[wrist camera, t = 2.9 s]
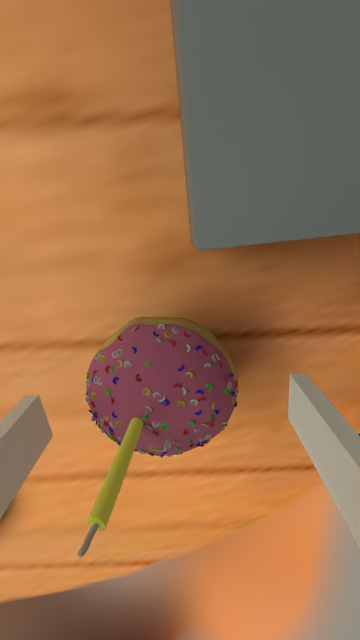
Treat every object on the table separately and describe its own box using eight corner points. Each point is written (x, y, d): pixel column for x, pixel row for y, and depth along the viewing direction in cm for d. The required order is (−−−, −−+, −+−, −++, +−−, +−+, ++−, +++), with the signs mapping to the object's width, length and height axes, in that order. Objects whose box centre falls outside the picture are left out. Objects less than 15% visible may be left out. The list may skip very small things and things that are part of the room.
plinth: (165, -58, 11) (150, -336, 6) (465, -105, 11) (769, -459, 5) (191, 242, 16) (197, 250, 10) (403, 218, 15) (532, 214, 10)
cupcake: (134, 410, 20) (77, 635, 9) (88, 317, 18) (-73, 476, 6) (237, 382, 20) (314, 594, 8) (206, 278, 17) (258, 386, 5)
